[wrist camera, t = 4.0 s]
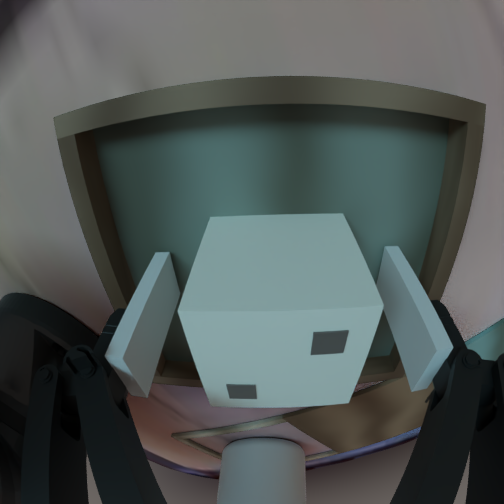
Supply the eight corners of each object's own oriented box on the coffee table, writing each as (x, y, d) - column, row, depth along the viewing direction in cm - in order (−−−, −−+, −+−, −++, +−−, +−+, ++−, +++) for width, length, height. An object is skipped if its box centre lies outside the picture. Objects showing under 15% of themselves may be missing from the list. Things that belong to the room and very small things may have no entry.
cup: (235, 458, 34) (230, 519, 26) (212, 434, 29) (202, 512, 20) (307, 454, 32) (308, 519, 24) (300, 430, 27) (302, 514, 19)
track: (246, 467, 37) (246, 469, 36) (171, 433, 30) (171, 436, 29) (526, 364, 22) (527, 366, 22) (548, 284, 15) (550, 287, 15)
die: (225, 313, 17) (210, 407, 12) (210, 217, 13) (177, 312, 8) (332, 310, 16) (349, 404, 11) (344, 213, 13) (386, 307, 8)
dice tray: (158, 361, 21) (152, 382, 19) (77, 109, 11) (53, 117, 9) (396, 356, 19) (402, 377, 18) (461, 97, 10) (485, 104, 8)
